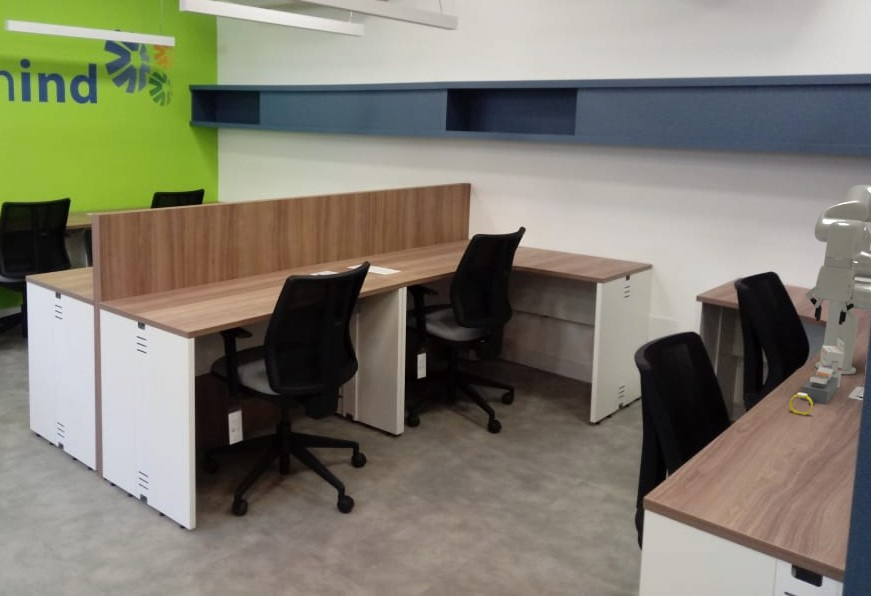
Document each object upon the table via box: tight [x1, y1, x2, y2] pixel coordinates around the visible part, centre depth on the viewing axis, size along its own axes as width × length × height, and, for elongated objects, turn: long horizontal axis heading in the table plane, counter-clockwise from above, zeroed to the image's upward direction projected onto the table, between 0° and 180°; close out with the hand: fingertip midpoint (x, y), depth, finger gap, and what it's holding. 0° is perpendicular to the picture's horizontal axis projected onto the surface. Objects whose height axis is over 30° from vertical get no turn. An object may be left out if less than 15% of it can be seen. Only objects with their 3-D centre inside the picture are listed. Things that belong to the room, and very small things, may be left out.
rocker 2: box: [809, 376, 828, 384], centre depth 240 cm, size 6×4×2 cm
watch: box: [788, 392, 814, 416], centre depth 226 cm, size 6×3×6 cm, turn 55°
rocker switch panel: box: [800, 373, 838, 406], centre depth 243 cm, size 22×7×5 cm, turn 145°
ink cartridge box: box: [819, 338, 845, 389], centre depth 255 cm, size 9×5×15 cm, turn 168°
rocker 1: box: [815, 367, 833, 381], centre depth 247 cm, size 6×4×2 cm
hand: (829, 321), depth 239 cm, fingers open, 5 cm apart
